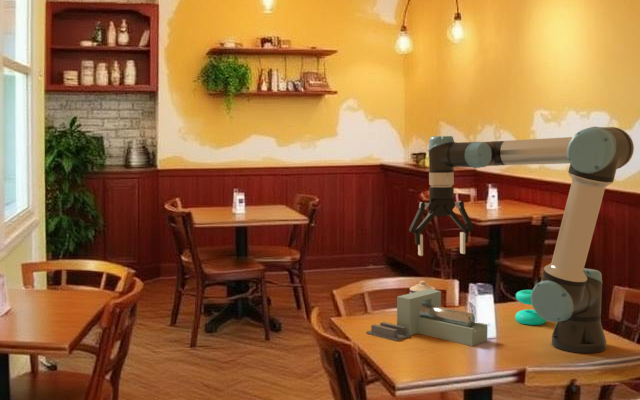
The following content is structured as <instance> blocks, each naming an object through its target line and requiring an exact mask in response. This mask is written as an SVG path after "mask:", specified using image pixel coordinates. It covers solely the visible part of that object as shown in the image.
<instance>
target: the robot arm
mask: <svg viewBox="0 0 640 400" xmlns="http://www.w3.org/2000/svg"><path fill="white" fill-rule="evenodd" d="M633 141H634V140H633V139H632V137H631V136H630V134H628V132H626V131H625V130H623V129H621V128H619V127H613V126H612V127H611V126H607V127H605V126H604V127H603V126H590V127H587V128H584V129H581V130H579V131H578V132H576V133H575V134H574V135H573V136H569V137H549V138H532V139H516V140H514V139H513V140H512V139H511V140H493V141H471V142H470V141H467V142H465V141H464V142H462V141H461V142H457V141H456V142H455V139H454V136H452V135H444V136H443V135H438V136H436V135H434V136H431V137H430V138H429V141H428V160H429V161H428V164H429V165H428V168H429V169H428V171H429V172H428V182H429V183H428V184H429V186H430V187H428V194H429V195H428V202H423V201H420V202H419V204H418V209H417V211H416V214H415V216H414V218H413V220H412V222H411V224H410V226H409V228H408V232H410V233H412V234H414V243H415V245H417V250H418V251H417V255H418V256H419V257H423V256H424V235H423V234H422V233H423V231H424V230H425V229H426V227H427V226H428V225H429V223H430V222H431V221H432V219H434V218H435V217H448V216H449V217H450V218H451V219H452V221H453V222H454V223H455V225H457V226H458V227H459V229H460V230H461V231H460V232H459V253H460V254H462V255H465V254H466V244H467V243H469V233H470V232H473V231H474V230H475V227H474V225H473V223H472V221H471V219H470V217H469V215H468V213H467V211H466V209H465V202H464V201H462V200H458V201H455V200H454V199H455V193H454V192H455V189H454V186H453V185H455V183H454V182H455V181H454V179H455V178H454V177H455V175H454V173H455V172H454V169H455V168H473V169H476V168H477V169H478V168H479V169H480V168H486V167H491V166H492V167H493V166H496V167H499V166H513V165H514V166H516V165H517V166H519V165H520V166H521V165H522V166H523V165H525V166H528V165H557V164H559V165H560V164H562V165H563V164H569V168H568V172H567V174H568V175H569V176H570V178H571V184H570V187H569V192H568V196H567V199H566V204H565V207H564V211H563V212H564V213H563V215H562V219H561V223H560V227H559V231H558V235H557V239H556V242H555V248H554V251H553V255H552V260H551V263H549V264H547V265H545V266H544V268H543V270H542V275H541V280H540V281H539V282H537V283H536V284H535V285H534V287H533V288H532V289H531V290H532V292H531V303H532V307H533V310H535V311H536V313H537V314H538V315H539V316H540V317H542V318H543V319H545V320H546V322H547V321H548V322H551V323H556V324H555V325H554V326H555V327H554V329H553V331H552V334H551V345H552V346H553V347H554V348H556V349H558V350H561V351H566V352H571V353H581V354H594V353H601V352H603V351H605V350H607V338H606V335H605V331H604V329H603V326H602V322H601V321H602V320H601V319H602V318H601V315H602V295H603V294H602V293H603V277H602V276H603V275H602V272H601V271H600V270H597V269H593V268H587V267H586V268H585V265H586V262H587V258H588V256H589V255H588V253H589V251H590V247H591V243H592V240H593V235H594V232H595V228H596V224H597V221H598V217H599V213H600V209H601V205H602V201H603V197H604V194H605V190H606V188H607V187H608V186H609V185H612V184H613V183H614V181H615V177H616V172H617V170H618V169H621V168H622V167H623V168H624V166H626V165H628V163H629V162H630V160H631V159H632V157H633V154H634V150H635V145H634V142H633ZM455 207H456V209H457V210H458V211H459V213H460V215H461V218H462V219H463V222H462V221H461V219H460V218H459V217H458V215H457V214H456V213H455V212H454V209H455ZM427 208H428V209H429V210H430V211H428V213H427V215H426V216H425V217H424V218H423V219H422V216H423V215H424V213H425V210H427ZM421 220H422V221H421ZM420 221H421V222H420ZM419 223H420V224H419ZM464 223H465V224H464Z"/></svg>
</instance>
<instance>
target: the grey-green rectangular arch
mask: <svg viewBox="0 0 640 400" xmlns="http://www.w3.org/2000/svg"><path fill="white" fill-rule="evenodd" d="M420 303H424V304H429V305H434V306H439V307H442V290H437V289H436V290H432V289H426V290H422V291H418V292H414V293H410V292H409V293H407V294H403V295H398V296H396V325H399V326H404V327H406V334H410V335H411V336H413V335H417V334H419V333H418V317H420Z"/></svg>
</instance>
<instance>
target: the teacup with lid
mask: <svg viewBox="0 0 640 400" xmlns="http://www.w3.org/2000/svg"><path fill="white" fill-rule="evenodd" d="M426 282H427V281H425V280H420V281H419V283H417V284H415V285H413V286H411V287H410V288H409V289H408V290H409V294H410V293H414V292H418V291H422V290H426V289H432V290H437V289H436V288H435V286H431V285H430V284H428V283H426Z"/></svg>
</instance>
